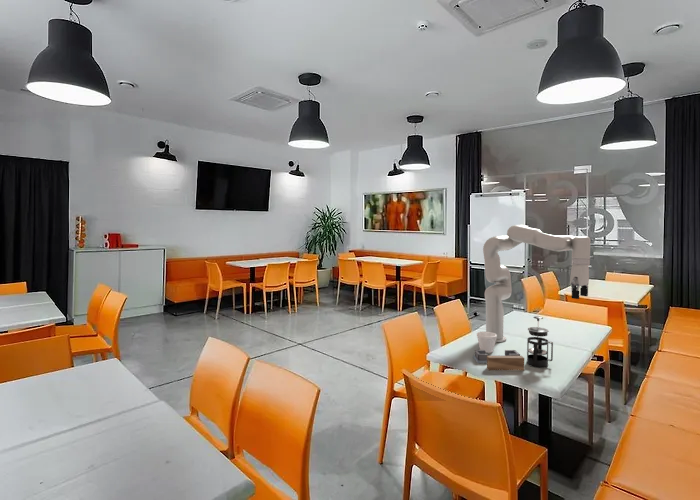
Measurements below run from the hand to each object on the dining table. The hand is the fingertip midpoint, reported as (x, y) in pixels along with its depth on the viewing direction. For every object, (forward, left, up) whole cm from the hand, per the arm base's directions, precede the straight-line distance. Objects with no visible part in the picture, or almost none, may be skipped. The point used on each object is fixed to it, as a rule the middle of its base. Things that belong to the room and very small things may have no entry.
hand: (579, 297), depth 186 cm
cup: (-13, -40, -31) cm, 53 cm away
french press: (+5, -21, -31) cm, 38 cm away
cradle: (0, -39, -31) cm, 50 cm away
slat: (+11, -39, -31) cm, 51 cm away
